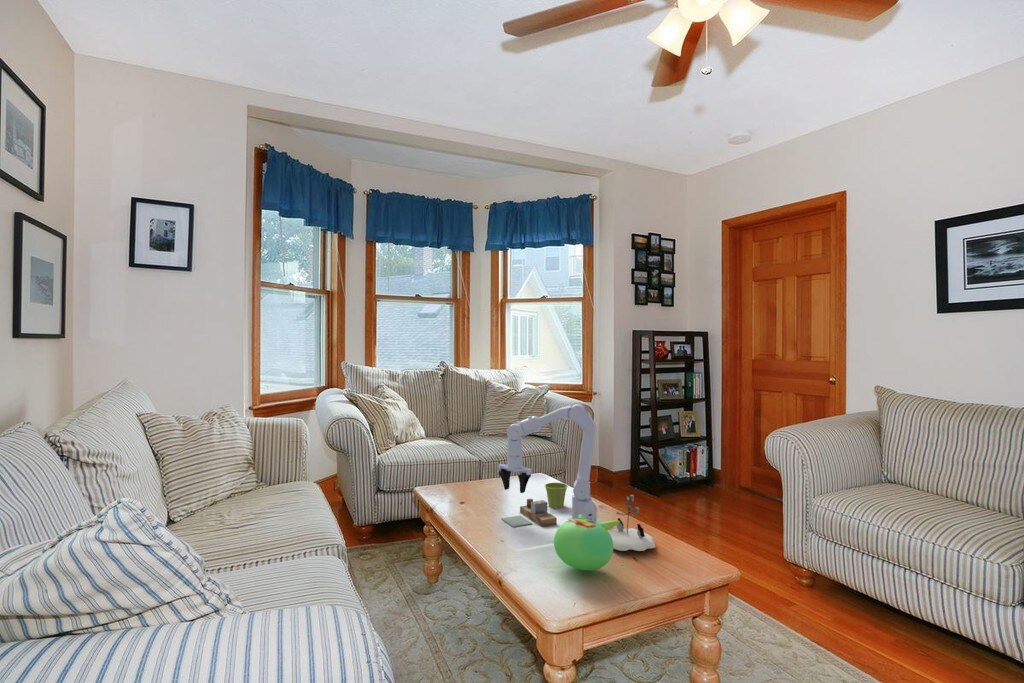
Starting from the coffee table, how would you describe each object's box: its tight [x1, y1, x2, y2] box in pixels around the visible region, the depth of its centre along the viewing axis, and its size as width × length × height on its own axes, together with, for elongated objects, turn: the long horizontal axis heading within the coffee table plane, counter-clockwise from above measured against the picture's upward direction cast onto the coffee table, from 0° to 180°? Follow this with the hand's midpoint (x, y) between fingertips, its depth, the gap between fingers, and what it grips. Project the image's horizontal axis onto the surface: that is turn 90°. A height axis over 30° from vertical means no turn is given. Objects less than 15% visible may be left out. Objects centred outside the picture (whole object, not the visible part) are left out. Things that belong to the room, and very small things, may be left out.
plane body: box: [519, 498, 558, 528], centre depth 203 cm, size 18×6×6 cm, turn 26°
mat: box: [501, 515, 533, 528], centre depth 199 cm, size 10×8×1 cm
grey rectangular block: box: [531, 499, 548, 515], centre depth 202 cm, size 3×5×4 cm, turn 119°
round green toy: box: [553, 514, 620, 571], centre depth 158 cm, size 18×17×15 cm
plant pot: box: [544, 482, 569, 509], centre depth 218 cm, size 9×9×9 cm
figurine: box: [607, 494, 657, 552], centre depth 178 cm, size 20×18×16 cm
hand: (514, 490), depth 204 cm, fingers open, 7 cm apart
